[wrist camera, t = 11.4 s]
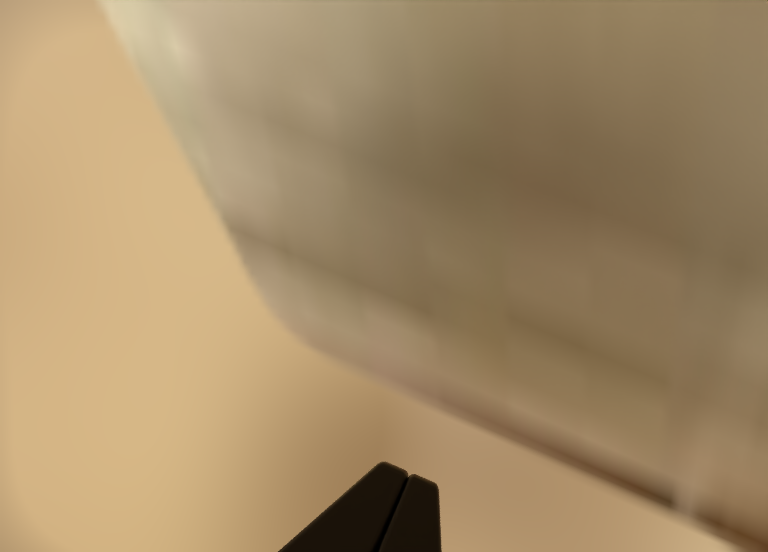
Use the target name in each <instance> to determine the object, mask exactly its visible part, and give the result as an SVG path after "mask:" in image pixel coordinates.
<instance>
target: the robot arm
mask: <svg viewBox="0 0 768 552" xmlns="http://www.w3.org/2000/svg"><path fill="white" fill-rule="evenodd" d="M278 552H442V551H441V528H440V505H439V489H438V486H437V484H436V483H434V482H432V481H430V480H427V479H425V478H423V477H420V476H418V475H416V474H412V475H410V476H409V477H408V473H407V471H406V470H404V469H402V468H399V467H397V466H395V465H392V464H390V463H388V462H380V463H379V464H377V465H376V466H375V467H374V468H372V469H371V470H370V471H369V472H368V473H367V474H366V475H365V476H363V477H362V478H361V479H360V480H359V481H358V482H357V483H356V484H354V485H353V486H352V487H351V488H350V489H349V490H348V491H346V492H345V493H344V494H343V495H342V496H341V497H340V498H339V499H337V500H336V501H335V502H334V503H333V504H332V505H330V506H329V507H328V508H327V509H326V510H325V511H324V512H323V513H321V514H320V515H319V516H318V517H317V518H316V519H315V520H313V521H312V522H311V523H310V524H309V525H308V526H307V527H306V528H304V529H303V530H302V531H301V532H300V533H299V534H298V535H297V536H295V537H294V538H293V539H292V540H291V541H290V542H289V543H287V544H286V545H285V546H284V547H283V548H282V549H281V550H280V551H278Z"/></svg>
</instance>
